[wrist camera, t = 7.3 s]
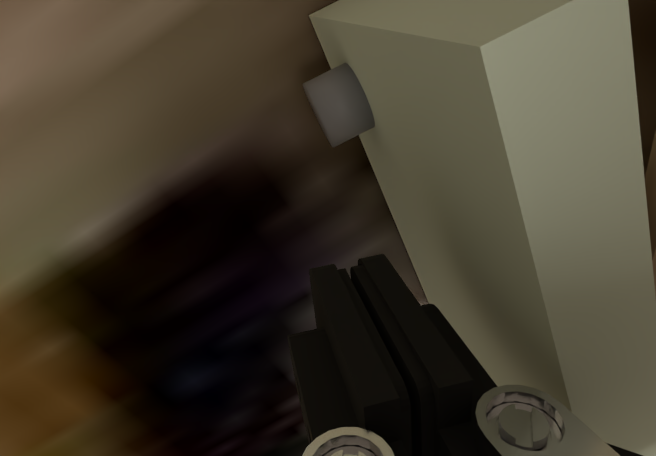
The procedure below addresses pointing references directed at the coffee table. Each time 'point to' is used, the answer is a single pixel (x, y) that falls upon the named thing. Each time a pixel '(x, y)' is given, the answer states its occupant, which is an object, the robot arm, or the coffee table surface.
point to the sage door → (512, 184)
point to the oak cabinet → (646, 100)
